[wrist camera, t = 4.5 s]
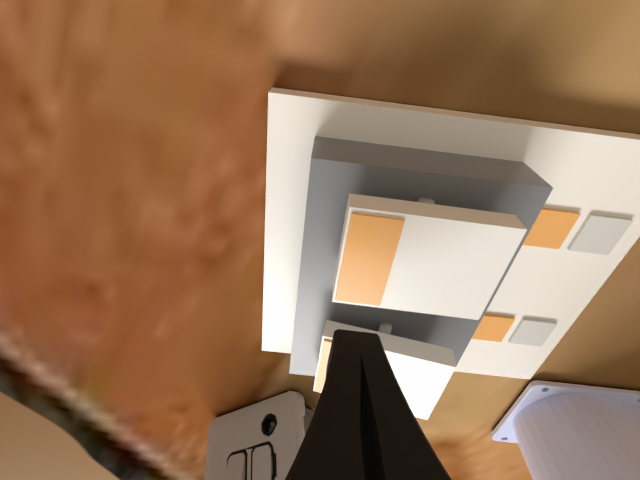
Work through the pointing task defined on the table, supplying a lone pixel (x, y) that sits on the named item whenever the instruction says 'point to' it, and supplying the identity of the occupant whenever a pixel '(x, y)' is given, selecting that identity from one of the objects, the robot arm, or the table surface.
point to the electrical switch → (258, 439)
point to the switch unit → (449, 190)
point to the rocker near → (422, 256)
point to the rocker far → (402, 366)
